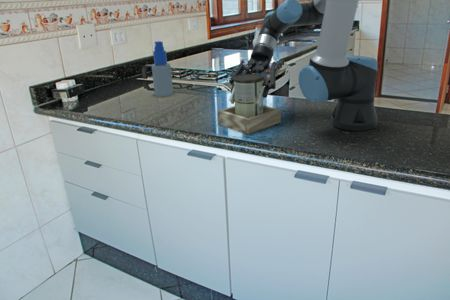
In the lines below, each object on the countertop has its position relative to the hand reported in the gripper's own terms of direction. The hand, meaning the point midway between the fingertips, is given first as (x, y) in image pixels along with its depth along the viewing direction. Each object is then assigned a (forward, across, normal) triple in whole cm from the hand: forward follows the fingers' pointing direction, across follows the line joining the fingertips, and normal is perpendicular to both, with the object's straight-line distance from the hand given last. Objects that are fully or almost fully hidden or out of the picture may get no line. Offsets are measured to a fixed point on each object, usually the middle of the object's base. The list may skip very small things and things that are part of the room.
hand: (244, 103), depth 130 cm
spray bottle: (-13, +59, -26) cm, 66 cm away
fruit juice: (-48, +30, -60) cm, 83 cm away
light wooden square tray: (+4, 0, -8) cm, 9 cm away
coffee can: (+2, 0, -6) cm, 6 cm away
